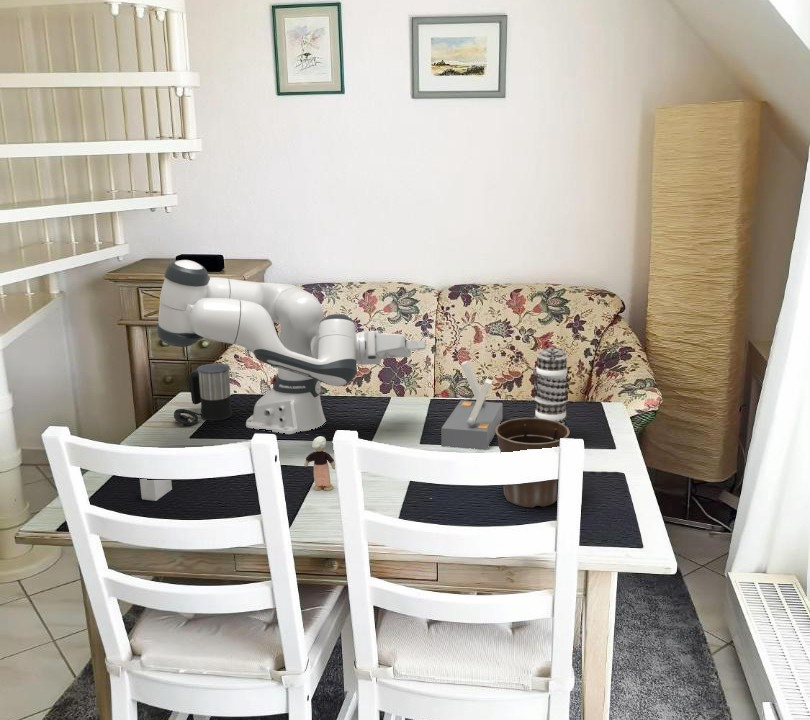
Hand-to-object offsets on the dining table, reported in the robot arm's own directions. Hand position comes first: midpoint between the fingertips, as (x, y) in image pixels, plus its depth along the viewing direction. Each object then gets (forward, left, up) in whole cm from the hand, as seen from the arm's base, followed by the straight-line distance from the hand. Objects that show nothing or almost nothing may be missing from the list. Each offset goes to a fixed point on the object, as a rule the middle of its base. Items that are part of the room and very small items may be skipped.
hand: (425, 345), depth 231 cm
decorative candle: (+33, +2, -25) cm, 42 cm away
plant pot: (+33, -34, -25) cm, 54 cm away
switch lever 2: (+13, -4, -20) cm, 24 cm away
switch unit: (+12, +5, -25) cm, 28 cm away
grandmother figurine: (-15, -40, -25) cm, 50 cm away
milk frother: (-66, -1, -25) cm, 71 cm away
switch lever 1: (+13, +13, -20) cm, 27 cm away
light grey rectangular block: (-51, -52, -25) cm, 77 cm away
